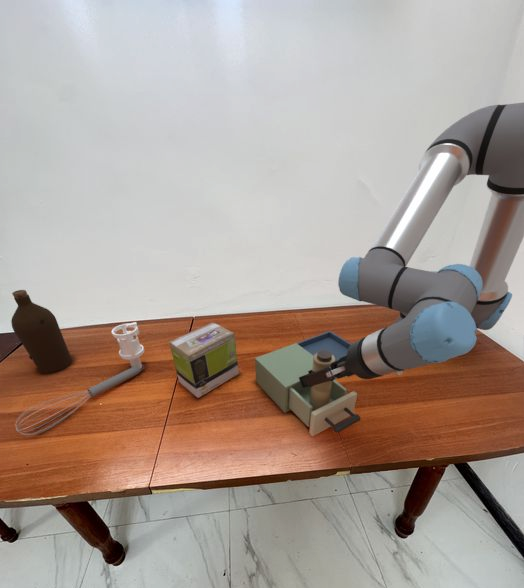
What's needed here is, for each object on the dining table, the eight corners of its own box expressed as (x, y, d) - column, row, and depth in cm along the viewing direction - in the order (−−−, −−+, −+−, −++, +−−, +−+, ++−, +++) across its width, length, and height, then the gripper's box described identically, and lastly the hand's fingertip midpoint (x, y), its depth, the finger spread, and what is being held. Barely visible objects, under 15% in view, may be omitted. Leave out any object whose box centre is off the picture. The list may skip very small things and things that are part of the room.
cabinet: (326, 392, 81) (330, 367, 76) (284, 413, 75) (285, 387, 70) (295, 366, 91) (296, 342, 87) (255, 382, 86) (254, 357, 81)
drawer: (366, 425, 70) (371, 404, 66) (325, 449, 64) (328, 428, 61) (317, 384, 83) (319, 365, 79) (279, 401, 77) (279, 381, 73)
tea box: (219, 361, 94) (213, 320, 86) (239, 375, 88) (236, 332, 80) (178, 383, 86) (167, 340, 78) (197, 400, 80) (188, 355, 72)
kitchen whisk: (151, 372, 90) (146, 355, 87) (29, 447, 68) (15, 428, 65) (139, 365, 94) (134, 349, 90) (18, 435, 71) (5, 416, 68)
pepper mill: (319, 397, 76) (325, 346, 68) (332, 408, 73) (340, 356, 64) (305, 404, 74) (309, 352, 66) (317, 416, 71) (323, 363, 62)
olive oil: (80, 354, 99) (49, 284, 86) (64, 374, 91) (26, 298, 77) (48, 356, 99) (12, 285, 86) (29, 375, 90) (-16, 300, 77)
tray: (329, 336, 106) (329, 330, 104) (362, 357, 94) (363, 351, 93) (289, 351, 98) (289, 345, 97) (320, 376, 87) (320, 369, 86)
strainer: (150, 369, 92) (138, 327, 83) (127, 377, 89) (112, 334, 81) (145, 358, 97) (133, 317, 89) (123, 365, 94) (108, 323, 86)
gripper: (348, 393, 48) (287, 406, 69) (418, 358, 55) (343, 379, 76) (329, 351, 48) (274, 376, 69) (400, 322, 56) (331, 353, 77)
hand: (311, 378), depth 73 cm, fingers closed on pepper mill, 5 cm apart
